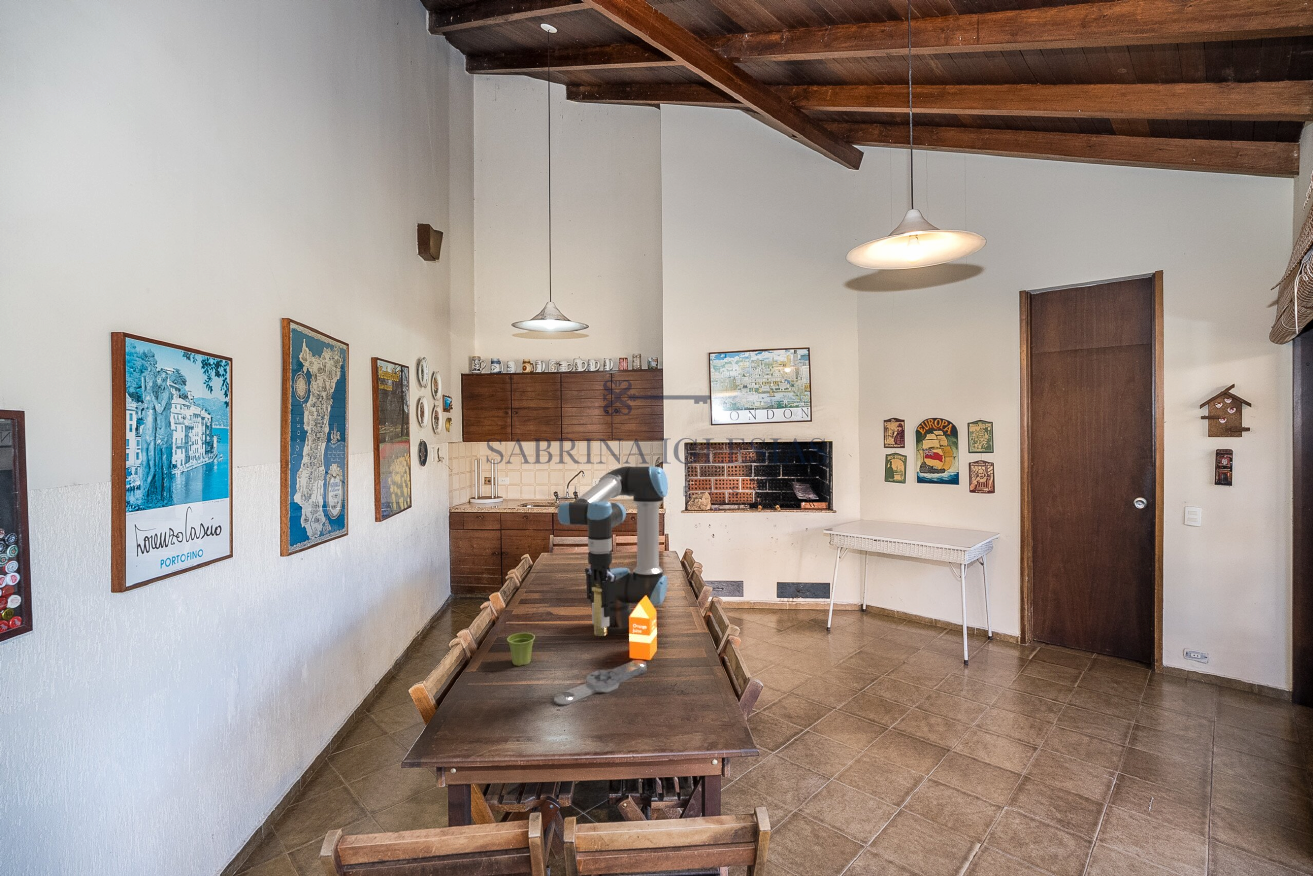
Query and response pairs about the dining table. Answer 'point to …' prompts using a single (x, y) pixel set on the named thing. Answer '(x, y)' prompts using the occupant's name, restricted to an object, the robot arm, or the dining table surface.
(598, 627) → the pin
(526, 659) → the plant pot
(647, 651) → the orange juice
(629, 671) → the metal spinner bar
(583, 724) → the dining table surface
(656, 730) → the dining table surface
